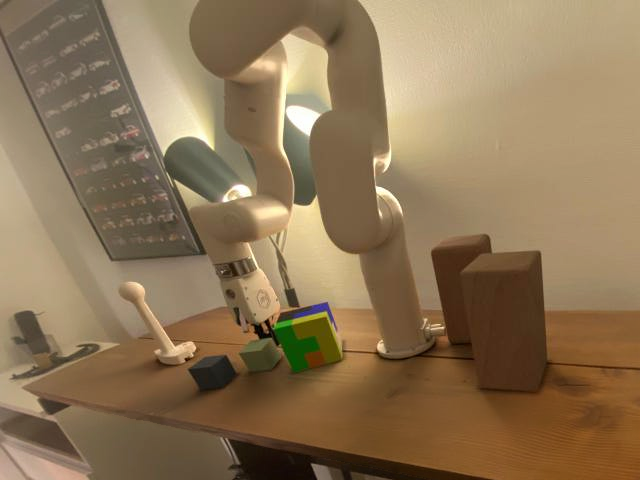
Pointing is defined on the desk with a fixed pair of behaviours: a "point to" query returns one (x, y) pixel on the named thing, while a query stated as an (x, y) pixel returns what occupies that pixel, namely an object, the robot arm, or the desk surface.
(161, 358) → the joystick
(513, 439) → the desk surface
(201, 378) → the slate blue block
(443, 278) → the block
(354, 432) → the desk surface
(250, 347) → the sage green block
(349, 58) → the robot arm
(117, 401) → the desk surface
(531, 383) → the wooden block
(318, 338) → the puzzle toy
